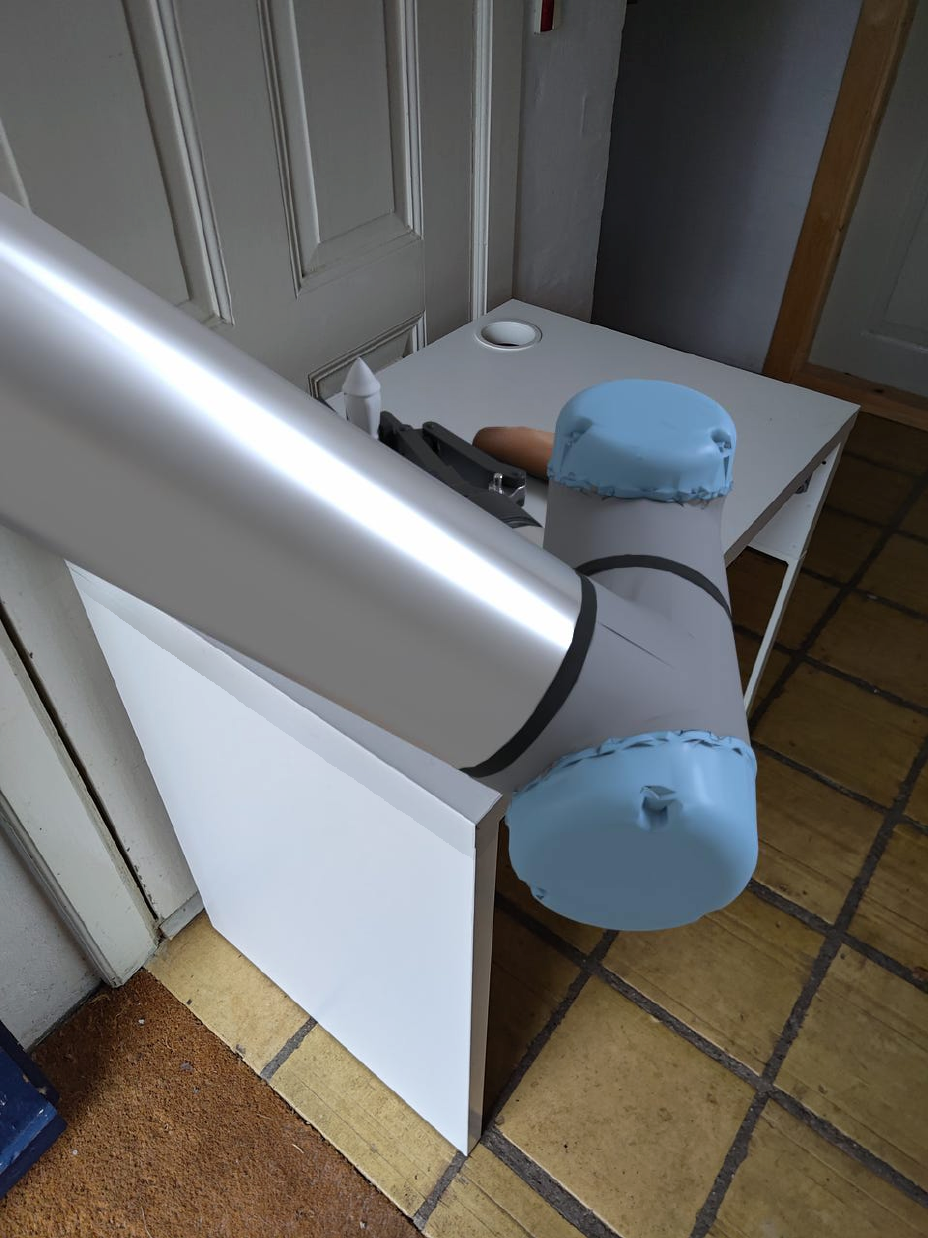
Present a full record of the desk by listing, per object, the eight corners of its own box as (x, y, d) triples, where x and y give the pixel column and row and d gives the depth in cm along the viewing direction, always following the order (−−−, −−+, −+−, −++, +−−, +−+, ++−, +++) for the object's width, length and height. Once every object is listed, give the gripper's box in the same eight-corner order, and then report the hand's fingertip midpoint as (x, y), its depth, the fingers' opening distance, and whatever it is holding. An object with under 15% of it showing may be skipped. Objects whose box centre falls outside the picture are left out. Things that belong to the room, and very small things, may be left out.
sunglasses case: (646, 475, 95) (639, 442, 89) (615, 527, 94) (605, 497, 88) (511, 425, 103) (496, 392, 97) (481, 473, 102) (464, 442, 96)
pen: (381, 538, 67) (368, 368, 57) (350, 531, 67) (332, 361, 58) (395, 520, 68) (384, 352, 59) (364, 513, 69) (349, 346, 60)
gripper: (394, 667, 51) (248, 478, 66) (596, 582, 57) (420, 427, 72) (387, 567, 46) (231, 388, 61) (609, 486, 52) (417, 340, 67)
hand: (334, 409), depth 66 cm, fingers closed on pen, 2 cm apart
